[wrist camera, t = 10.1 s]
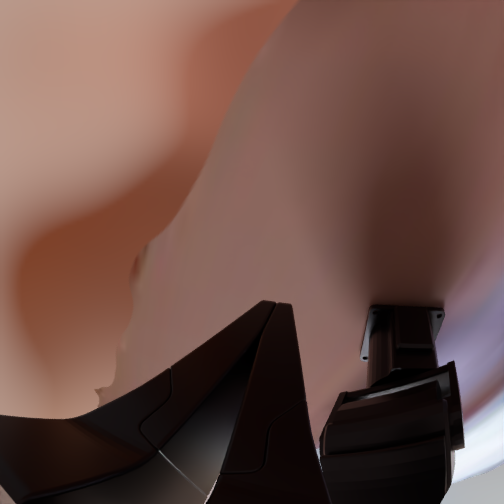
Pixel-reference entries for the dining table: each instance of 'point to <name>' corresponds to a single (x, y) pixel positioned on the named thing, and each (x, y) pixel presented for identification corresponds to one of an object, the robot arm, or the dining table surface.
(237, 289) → the dining table surface
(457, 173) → the dining table surface
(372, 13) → the dining table surface
